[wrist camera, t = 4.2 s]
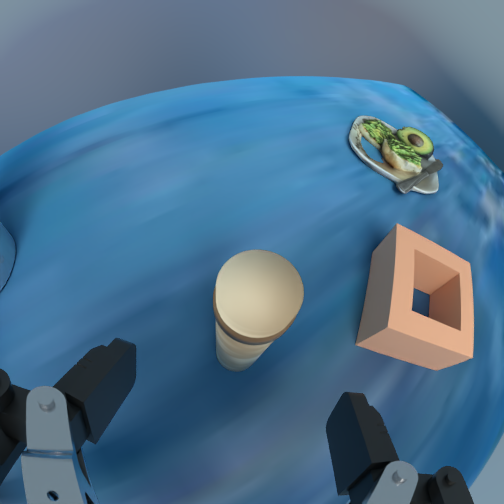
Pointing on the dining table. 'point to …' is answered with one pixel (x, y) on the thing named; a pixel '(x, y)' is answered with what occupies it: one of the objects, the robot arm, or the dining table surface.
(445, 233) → the dining table surface
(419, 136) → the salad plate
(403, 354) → the orange square ring
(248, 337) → the birch peg
